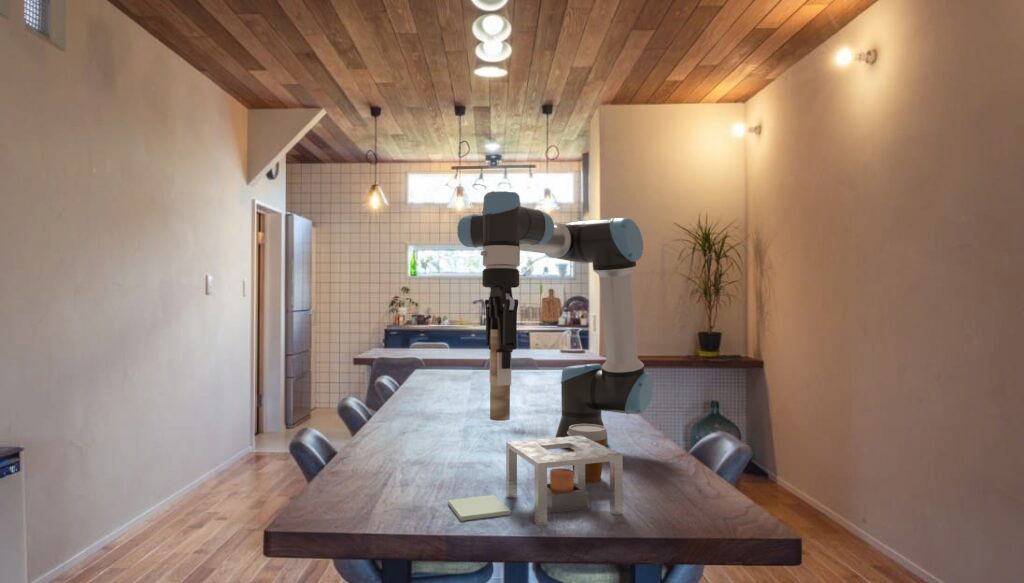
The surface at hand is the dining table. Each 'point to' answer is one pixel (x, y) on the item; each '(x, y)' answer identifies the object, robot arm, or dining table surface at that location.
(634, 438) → the dining table surface
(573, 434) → the disposable coffee cup
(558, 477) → the button
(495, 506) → the pad
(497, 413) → the rod
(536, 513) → the stand
